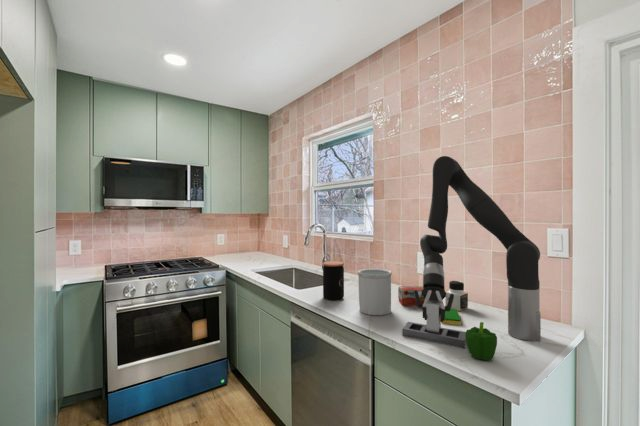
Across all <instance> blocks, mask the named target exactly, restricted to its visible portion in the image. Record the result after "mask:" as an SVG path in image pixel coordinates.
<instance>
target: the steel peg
mask: <svg viewBox="0 0 640 426" xmlns="http://www.w3.org/2000/svg"><path fill="white" fill-rule="evenodd" d="M440 304H441V301H439V300H432V299H429V300H428V301H427V302H426V311H427V320H426V325H427V331H430V332H436V333H439V332H440V330H441V328H442V326H441V324H442V323H441V316H440V311H441V306H440Z"/></svg>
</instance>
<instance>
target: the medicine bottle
mask: <svg viewBox="0 0 640 426" xmlns="http://www.w3.org/2000/svg"><path fill="white" fill-rule="evenodd" d="M448 283H449V289H448V291H445V292H446V293H447V294H454V299H453V303H452V306H451V309H457V311H458V312H459V311H460V312H462V311H464V310H465V309H468V307H469V304H468V303H469V299H468V296H469V292H466V291H465V284H464V282H462V281H460V280H450V281H449V282H448ZM444 299H445V301H444V302H445V305H444V306H447V304H448V300H447V297H445V298H444Z"/></svg>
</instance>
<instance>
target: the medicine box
mask: <svg viewBox="0 0 640 426" xmlns="http://www.w3.org/2000/svg"><path fill="white" fill-rule="evenodd" d="M422 289H423V285H398V288H397V290H398V291H397V292H398V293H397V294H398V297H397V298H398V302H399V303H400V304H401V305H402V307H418V306H417V303H416V299H415V295H414V291H415V290H416V291H422ZM424 301H425V298H424V296H423V295H421V297H420V302H421V304H423V303H424Z"/></svg>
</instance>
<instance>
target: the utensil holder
mask: <svg viewBox="0 0 640 426" xmlns="http://www.w3.org/2000/svg"><path fill="white" fill-rule="evenodd" d="M357 275H358V277H357V278H358V301H359V303H358V304H359V305H358V306H359V311H360V312H361V313H362V314H365V315H369V316H386V315H388V314H390V313H392V312H391V311H392V276H393V275H392V271H391V270H389V269H384V268H363V269H359V270H357Z"/></svg>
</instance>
